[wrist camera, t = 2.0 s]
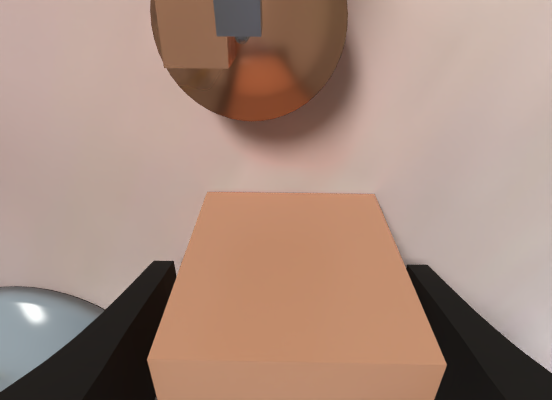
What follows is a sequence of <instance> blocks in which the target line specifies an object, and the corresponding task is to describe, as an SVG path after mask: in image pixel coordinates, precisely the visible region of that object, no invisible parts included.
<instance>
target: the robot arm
mask: <svg viewBox="0 0 552 400" xmlns="http://www.w3.org/2000/svg"><path fill="white" fill-rule="evenodd" d="M406 270H407V272H408V274H409V277H410V279H411V281H412V284H413V286H414V288H415V291H416V293H417V296H418V298H419V300H420V303H421V305H422V307H423V310H424V312H425V314H426V317H427V319H428V321H429V324H430V326H431V329H432V331H433V333H434V336H435V338H436V340H437V343H438V345H439V347H440V350H441V352H442V354H443V357H444V359H445V361H446V364H447V366H446V369H445V372H444V374H443V377H442V380H441V383H440V385H439V388H438V391H437V393H436V396H435V399H434V400H552V373H551V372H549V371H548V370H547V369H545V368H544V367H543V366H541V365H540V364H539V363H537V362H536V361H535V360H533V359H532V358H530V357H529V356H528V355H526V354H525V353H524V352H523V351H521V350H520V349H519V348H518V347H516V346H515V345H514V344H513V343H511V342H510V341H509V340H508V339H507V338H505V337H504V336H503V335H502V334H501V333H500V332H498V331H497V330H496V329H495V328H494V327H492V326H491V325H490V324H489V323H488V322H487V321H486V320H485V319H483V318H482V317H481V316H480V315H479V314H478V313H477V312H476V311H475V310H474V309H473V308H471V307H470V306H469V305H468V304H467V303H466V302H465V301H464V300H463V299H462V298H461V297H460V296H459V295H458V294H457V293H456V292H455V291H454V290H453V289H452V288H451V287H450V286H448V285H447V284H446V283H445V282H444V281H443V280H442V279H441V278H440V277H439V276H438V275H437V274H436V273H435V272H434V271H433V270H432V269H431V268H430V267H429V266H428V265H407V268H406ZM175 280H176V271H175V266H174V261H153V262H152V263H151V264H150V265H149V266H148V267H147V268H146V269H145V270H144V271H143V272H142V273H141V275H140V276H139V277H138V278H137V279H136V280H135V281H134V282H133V283H132V284H131V285H130V286H129V287H128V288H127V289H126V290H125V291H124V292H123V293H122V294H121V295H120V296H119V297H118V298H117V299H116V300H115V301H114V302H113V303H112V304H111V305H110V306H109V307H108V308H107V309H106V310H105V311H104V312H103V313H101V314H100V315H99V316H98V317H97V318H96V319H95V320H94V321H93V322H92V323H90V324H89V325H88V326H87V327H86V328H85V329H84V330H83V331H82V332H80V333H79V334H78V335H77V336H76V337H75V338H73V339H72V340H71V341H70V342H69V343H67V344H66V345H65V346H64V347H62V348H61V349H60V350H59V351H57V352H56V353H55V354H53V355H52V356H51V357H49V358H48V359H47V360H46V361H44V362H43V363H42V364H40V365H39V366H37V367H36V368H34V369H33V370H32V371H30V372H29V373H27V374H26V375H24V376H23V377H21V378H20V379H19V380H17V381H16V382H14V383H13V384H11V385H10V386H8V387H7V388H5V389H4V390H3V391H1V392H0V400H155V397H156V392H155V388H154V384H153V381H152V377H151V373H150V369H149V365H148V361H147V358H148V355H149V352H150V350H151V347H152V344H153V341H154V339H155V336H156V333H157V330H158V327H159V325H160V322H161V319H162V316H163V314H164V311H165V308H166V305H167V302H168V300H169V297H170V294H171V291H172V289H173V286H174V283H175Z"/></svg>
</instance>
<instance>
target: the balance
mask: <svg viewBox="0 0 552 400" xmlns="http://www.w3.org/2000/svg"><path fill="white" fill-rule="evenodd" d="M150 13H151V25H152V30H153V35H154V39H155V43H156V46H157V49H158V52H159V54H160V56H161V58H162V61H163V64H164V68H167V70H168V71H169V73H170V75H171V76H172V78H173V79H174V80H175V81H176V83H177V84H178V85H179V86H180V88H181V89H182V90H183V91H184V92H185V93H186V94H187V95H188V96H190V97H191V98H192V99H193V100H195V101H196V102H197V103H198V104H200V105H202V106H203V107H205V108H206V109H208V110H210V111H212V112H214V113H216V114H219V115H222V116H225V117H228V118H231V119H236V120H243V121H263V120H269V119H274V118H277V117H280V116H284V115H286V114H288V113H290V112H293V111H295V110H297V109H298V108H300V107H301V106H303V105H304V104H306V103H307V102H308V101H309V100H311V99H312V98H313V97H314V96H315V95H316V94H317V93H318V92H319V91H320V90H321V89H322V88H323V87H324V85H325V84H326V82H327V81H328V80H329V78H330V77H331V75H332V73H333V71H334V70H335V68H336V66H337V64H338V61H339V59H340V56H341V54H342V50H343V47H344V43H345V38H346V32H347V18H348V11H347V0H151V6H150Z"/></svg>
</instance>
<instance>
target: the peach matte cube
mask: <svg viewBox="0 0 552 400" xmlns="http://www.w3.org/2000/svg"><path fill="white" fill-rule="evenodd" d="M147 361H148V365H149V369H150V373H151V377H152V381H153V384H154V388H155V392H156V396H157V400H434V399H435V396H436V393H437V391H438V388H439V385H440V383H441V380H442V377H443V374H444V372H445V369H446V366H447V364H446V361H445V359H444V357H443V354H442V352H441V350H440V347H439V345H438V343H437V340H436V338H435V336H434V333H433V331H432V329H431V326H430V324H429V321H428V319H427V317H426V314H425V312H424V310H423V307H422V305H421V303H420V300H419V298H418V296H417V293H416V291H415V288H414V286H413V284H412V281H411V279H410V277H409V274H408V272H407V270H406V267H405V265H404V263H403V260H402V258H401V256H400V253H399V251H398V248H397V246H396V244H395V241H394V239H393V237H392V234H391V232H390V230H389V227H388V225H387V223H386V220H385V218H384V215H383V213H382V211H381V208H380V206H379V204H378V201H377V199H376V197H375V194H327V193H251V192H207V194H206V197H205V200H204V202H203V205H202V208H201V211H200V213H199V216H198V219H197V222H196V225H195V227H194V230H193V233H192V236H191V238H190V241H189V244H188V247H187V250H186V252H185V255H184V258H183V261H182V263H181V266H180V269H179V272H178V275H177V277H176V280H175V283H174V286H173V289H172V291H171V294H170V297H169V300H168V302H167V305H166V308H165V311H164V314H163V316H162V319H161V322H160V325H159V327H158V330H157V333H156V336H155V339H154V341H153V344H152V347H151V350H150V352H149V355H148V358H147Z"/></svg>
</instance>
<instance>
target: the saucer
mask: <svg viewBox="0 0 552 400" xmlns="http://www.w3.org/2000/svg"><path fill="white" fill-rule="evenodd" d="M104 311H105V310H103V309H102V308H100V307H98V306H96V305H94V304H91V303H89V302H87V301H84V300H82V299H79V298H76V297H73V296H70V295H67V294H64V293H60V292H56V291H52V290H46V289H40V288H33V287H18V286H14V287H0V392H1V391H3V390H4V389H5V388H7V387H8V386H10V385H11V384H13V383H14V382H16V381H17V380H19V379H20V378H21V377H23V376H24V375H26V374H27V373H29V372H30V371H32V370H33V369H34V368H36V367H37V366H39V365H40V364H42V363H43V362H44V361H46V360H47V359H48V358H49V357H51V356H52V355H53V354H55V353H56V352H57V351H59V350H60V349H61V348H62V347H64V346H65V345H66V344H67V343H69V342H70V341H71V340H72V339H73V338H75V337H76V336H77V335H78V334H79V333H80V332H82V331H83V330H84V329H85V328H86V327H87V326H88V325H89V324H90V323H92V322H93V321H94V320H95V319H96V318H97V317H98V316H99V315H100V314H101V313H103V312H104Z"/></svg>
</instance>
